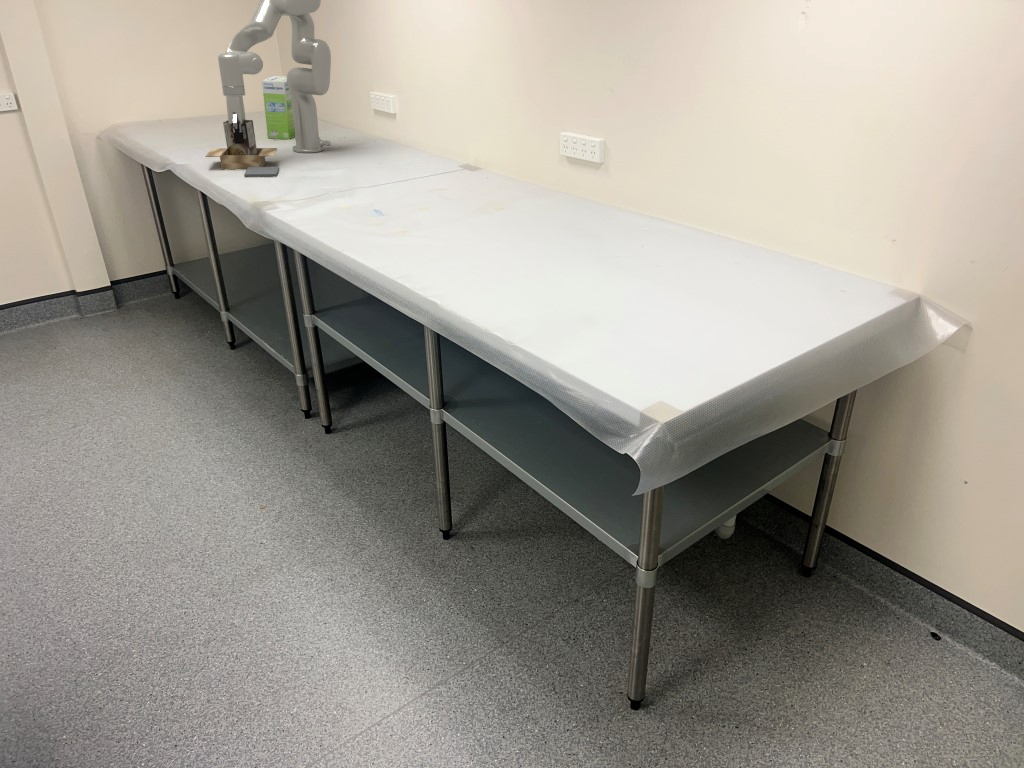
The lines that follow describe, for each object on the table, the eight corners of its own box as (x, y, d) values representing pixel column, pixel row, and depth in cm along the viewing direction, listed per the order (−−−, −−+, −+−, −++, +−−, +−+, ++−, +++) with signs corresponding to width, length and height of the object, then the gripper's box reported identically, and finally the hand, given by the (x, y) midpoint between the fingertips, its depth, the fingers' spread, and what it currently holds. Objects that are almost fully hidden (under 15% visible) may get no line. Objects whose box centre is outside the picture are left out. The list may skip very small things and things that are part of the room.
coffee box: (259, 164, 284) (253, 119, 276) (252, 167, 278) (246, 122, 271) (236, 163, 285) (229, 118, 277) (229, 166, 279) (222, 121, 271)
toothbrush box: (290, 139, 327) (284, 81, 316) (267, 139, 327) (260, 80, 316) (302, 132, 343) (296, 76, 331) (279, 131, 343) (273, 75, 331)
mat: (279, 169, 278) (279, 166, 277) (276, 176, 267) (276, 174, 267) (248, 169, 276) (248, 166, 275) (244, 177, 266) (244, 174, 265)
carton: (278, 161, 290) (277, 148, 287) (275, 169, 277) (273, 155, 275) (214, 161, 285) (211, 148, 283) (207, 170, 273) (205, 156, 271)
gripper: (226, 87, 276) (233, 137, 284) (219, 94, 261) (226, 146, 269) (247, 87, 277) (254, 136, 285) (241, 94, 262) (248, 146, 270)
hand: (241, 141), depth 277 cm, fingers closed on coffee box, 7 cm apart
